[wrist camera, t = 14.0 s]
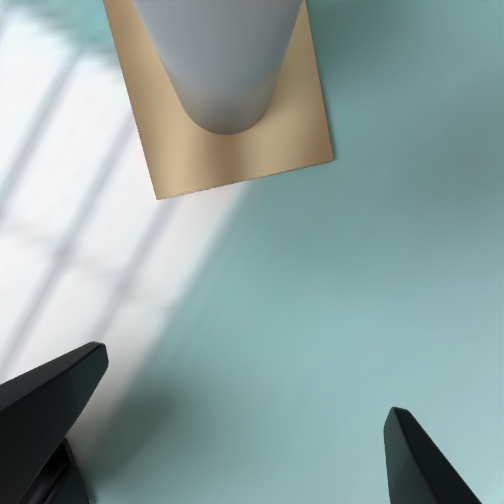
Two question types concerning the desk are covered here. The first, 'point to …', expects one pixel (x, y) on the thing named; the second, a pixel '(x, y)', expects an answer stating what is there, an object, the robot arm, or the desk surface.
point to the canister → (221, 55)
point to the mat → (211, 144)
